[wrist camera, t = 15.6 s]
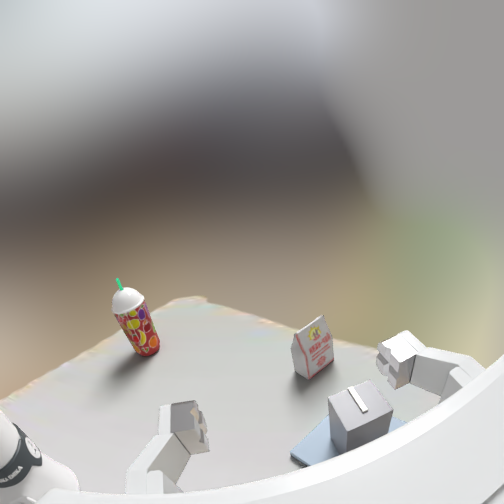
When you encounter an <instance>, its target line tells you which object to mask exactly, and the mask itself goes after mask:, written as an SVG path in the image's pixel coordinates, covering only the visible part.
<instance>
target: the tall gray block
mask: <svg viewBox="0 0 504 504" xmlns="http://www.w3.org/2000/svg"><path fill="white" fill-rule="evenodd" d="M328 406H329V422H330V437H331V439H332V441H333V443H334V445H335V447H336V449H337V451H338V453H339V455H342V454H344V453H346V452H349V451H351V450H354V449H356V448H358V447H360V446H363V445H365V444H367V443H369V442H371V441H374V440H376V439H378V438H380V437H382V436H384V435H386V434H388V431H389V427H390V422H391V418H392V414H393V408H392V407H391V406H390V404H389V403H388V402H387V400H386V399H385V398H384V396H383V395H382V394H381V392H380V391H379V390H378V389H377V387H376V386H375V385H374V383H373V382H372V381H371V379H369V380H367V381H365V382H363V383H360V384H358V385H356V386H354V387H349V388H348V389H347V390H344V391H342V392H339V393H337V394H334V395H332V396H329V397H328Z"/></svg>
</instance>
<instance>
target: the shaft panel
mask: <svg viewBox="0 0 504 504" xmlns="http://www.w3.org/2000/svg"><path fill="white" fill-rule="evenodd" d="M405 424H407V422H405V421H402V420H400V419H397V418H395V417H392V418H391V422H390V427H389V431H388V433H390V432H392V431H394V430H396V429H397V428H399V427H401V426H403V425H405ZM290 454H291V455H292V456H293V457H295V458H296V459H298V460H299V461H301V462H302V463H304V464H305V465H307V466H308V467H309V466H312V465H315V464H318V463H320V462H323V461H326V460H329V459H331V458H334V457H336V456H339V453H338V451H337V449H336V447H335V445H334V443H333V441H332V439H331V437H330V422H329V414H328V415H327V416H326V417H325V418H324V419H323V420H322V421H321V422H320V423H319V424H318V425H317V426H316V427H315V428H314V429H313V430H312V431H311V432H310V433H309V434H308V435H307V436H306V437H305V438H304V439H303V440H302V441H301V442H300V443H299V444H298V445H297V446H295V447H294V448H293V449H292V450H291V451H290Z"/></svg>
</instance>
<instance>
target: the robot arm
mask: <svg viewBox="0 0 504 504" xmlns="http://www.w3.org/2000/svg"><path fill="white" fill-rule="evenodd" d="M377 350H378V351H379V354H378V355H377V360H376V363H377V367H378V369H379V371H380V372H381V374H382V375H384V376H388V380H387V381H388V382H389V384H390V385H391V386H392V387H393V388H394V390H396V389H398V388H400V387H402V386H404V385H406V384H408V383H410V384H413V385H415V386H417V387H420V388H422V389H424V390H427V391H429V392H432V393H434V394H437V395H439V396H441V398H440V401H439V403H438V405H437V406H435V407H433V408H432V409H430V410H429V411H427V412H425V413H424V414H422V415H420V416H419V417H417V418H415V419H414V420H412V421H410V422H408V423H407V424H405V425H403V426H401V427H399V428H397V429H396V430H394V431H392V432H390V433H388V434H386V435H384V436H382V437H380V438H378V439H376V440H374V441H371V442H369V443H367V444H365V445H363V446H360V447H358V448H356V449H354V450H351V451H349V452H346V453H344V454H342V455H339V456H336V457H334V458H331V459H329V460H326V461H323V462H320V463H318V464H315V465H312V466H309V467H306V468H303V469H299V470H296V471H293V472H290V473H286V474H283V475H279V476H275V477H271V478H267V479H263V480H259V481H255V482H250V483H245V484H240V485H235V486H230V487H224V488H217V489H211V490H203V491H195V492H185V493H184V492H183V491H182V490H181V489H180V488H179V487H178V486H176V483H177V481H178V479H179V477H180V475H181V474H182V472H183V470H184V468H185V466H186V464H187V462H188V460H189V458H190V457H191V455H193V454H199V453H204V452H209V442H208V438H207V436H206V435H205V434H206V432H207V426H206V422H205V418H204V416H203V414H202V412H201V411H199V410H198V404H197V403H196V401H195V400H193V401H186V402H180V403H173V404H168V405H161V406H160V408H159V422H158V435H155V436H154V437H153V438H152V440H151V441H150V442H149V443H148V445H147V446H146V447H145V448H144V450H143V451H142V452H141V454H140V455H139V456H138V457H137V459H136V460H135V461H134V462H133V464H132V465H131V466H130V467H129V469H128V470H127V472H126V484H125V494H105V493H93V492H83V491H80V487H79V482H78V479H77V477H76V475H75V474H74V472H73V471H72V470H71V469H70V468H68V467H67V466H65V465H63V464H60V463H58V462H56V461H55V460H53V459H51V458H50V457H48V456H47V455H46V454H44V453H43V452H42V451H40V450H39V449H38V447H37V446H36V445H35V444H34V443H33V442H32V441H31V440H30V438H29V437H28V436H27V435H26V434H25V433H24V432H23V431H22V430H21V429H20V428H19V427H18V426H17V425H16V424H14V423H12V422H11V421H10V420H9V419H8V418H7V417H6V416H5V415H4V413H3V412H2V411H1V410H0V504H504V354H503V355H502V357H500V358H499V359H498V360H497V361H496V362H494V363H493V364H492V365H491V366H490V367H488V368H487V369H485V368H483V367H482V366H481V365H480V364H479V363H478V362H477V361H475V360H474V359H473V358H472V357H471V356H467V355H462V354H458V353H453V352H449V351H444V350H440V349H436V348H432V347H429V348H426V347H425V346H424V345H423V344H422V343H421V342H420V341H419V340H418V339H417V338H416V337H414V336H413V335H412V334H411V333H410V332H409V331H407V330H405V331H403V332H401V333H399V334H397V335H395V336H392V337H390V338H388V339H386V340H384V341H382V342H379V344H378V348H377Z"/></svg>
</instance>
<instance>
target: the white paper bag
mask: <svg viewBox="0 0 504 504" xmlns="http://www.w3.org/2000/svg"><path fill="white" fill-rule="evenodd" d="M291 353H292V358H293V363H294V368H295V371H296V372H297V373H299V374H300V375H302V376H303V377H305V378H306V379H308V380H309V379H310V378H312V377H313V376H314V375H316V374H317V373H318V372H319V371H320V370H322V369H323V368H324V367H325V366H327V365H328V364H329V363H330V362H331V361H333V360H334V354H333V341H332V335H331V333H330V330H329V328H328V326H327V324H326V321H325V318H324V315H323V316H322V315H321V316H319V317H318V318H316V319H315V320H314V321H312V322H311V323H310V324H308V325H307V326H305V327H304V328H302V329H301V330H299V331H298V332H297V333H295V334H294V339H293V343H292V346H291Z"/></svg>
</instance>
